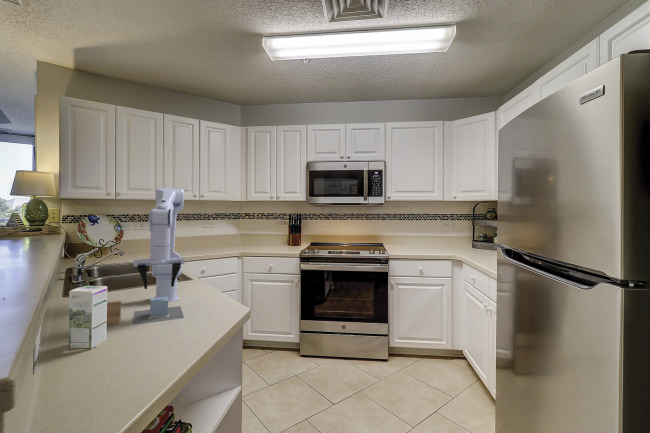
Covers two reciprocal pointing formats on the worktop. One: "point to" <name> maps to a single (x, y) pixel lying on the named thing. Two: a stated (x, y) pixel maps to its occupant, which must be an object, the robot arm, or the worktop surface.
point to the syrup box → (87, 316)
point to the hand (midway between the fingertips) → (159, 287)
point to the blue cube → (158, 307)
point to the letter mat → (144, 317)
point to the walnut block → (113, 312)
